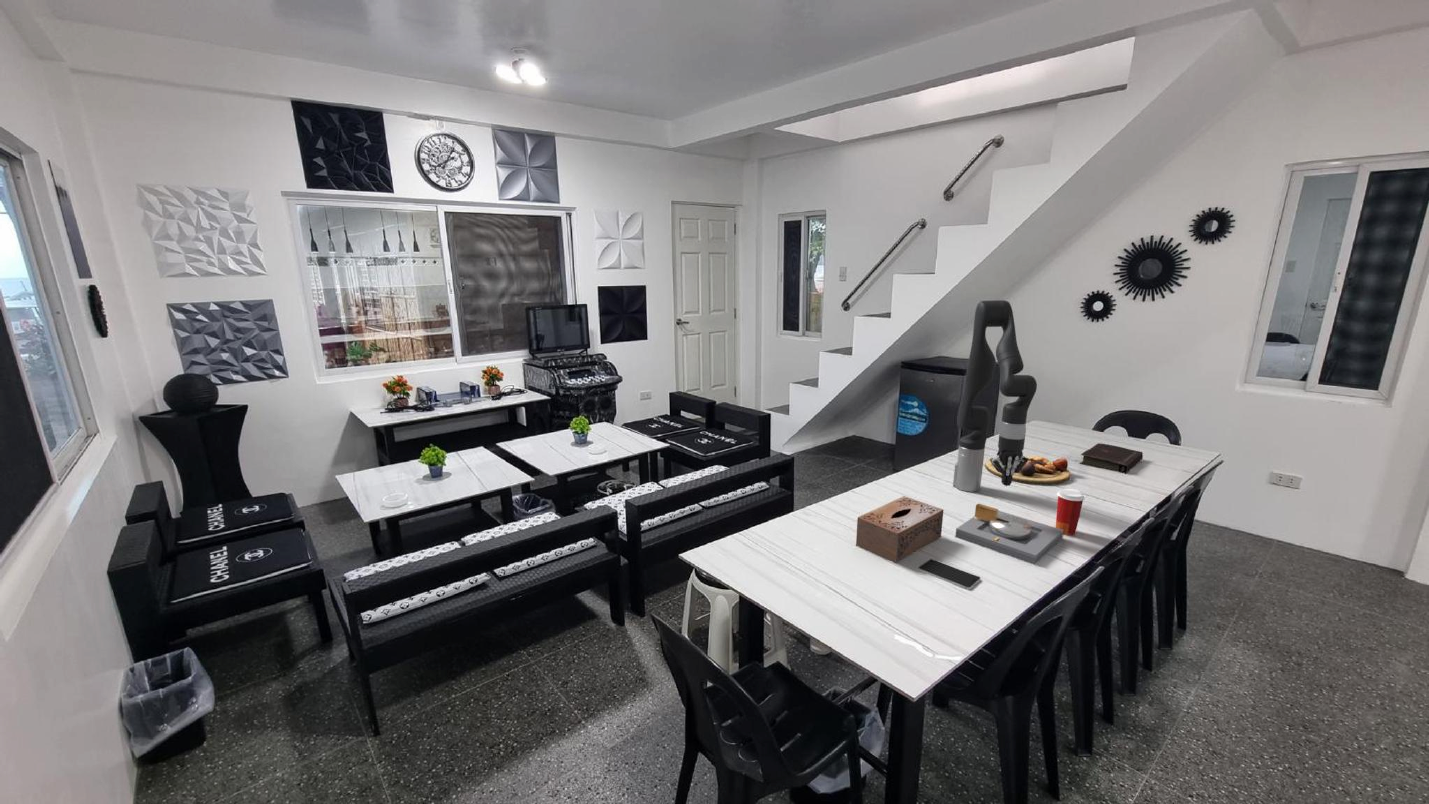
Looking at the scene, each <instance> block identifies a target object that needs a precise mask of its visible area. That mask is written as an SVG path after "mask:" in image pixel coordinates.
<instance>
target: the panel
mask: <svg viewBox="0 0 1429 804" xmlns="http://www.w3.org/2000/svg"><path fill="white" fill-rule="evenodd" d="M998 515H1008V516H1014V517H1018V518H1021V519H1023V520H1025V521H1027V522H1028V523H1030V524H1031V526H1032V527H1031V535H1030V538H1028V539H1026V540H1010V539H1005V538H1002V537H999V536H997V535H995V534H993V533H992V532H991V531H990V530H989V523H990V522H989V521H985V520H982V519H979V518H976V517H975V515H974V516H973V517H972V518H970V519H968V520H967V521H965V522H963V524H961V525H959V526H958V527H956V529H955V538H958V539H960V540H963V541H965V542H968V543H972V544H974V545H977V546H980V547H983V548H986V549H989V550H991V551H994V552H997V553H999V554H1003V555H1006V556H1009V557H1011V558H1015V559H1018V560H1020V561H1023V562H1026V563H1029V564H1031V565H1036V564H1037V563H1038V562H1039V561H1040V560H1042V558H1044V556H1045V555H1046V554H1047V553H1049V552H1050V551H1051V550H1052V549H1053V548H1054V547H1056V546H1057V544H1058V543H1059V542H1061V540H1062V539H1063V537H1064V535H1063V530H1062V529H1058V528H1056V526H1052V525H1048V524H1045V523H1042V522H1038V521H1034V520H1032V519H1027V518H1024V517H1021V516H1018V515H1015V514H1013V513H1008V512H1005V511H1001V510H998Z"/></svg>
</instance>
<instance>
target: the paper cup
mask: <svg viewBox="0 0 1429 804" xmlns="http://www.w3.org/2000/svg"><path fill="white" fill-rule="evenodd" d="M1056 496H1057V505H1056V519H1055V528H1058V529H1062V530H1063V536H1071V537H1072V536H1074V535H1076V533H1077V532H1076V531H1077V528H1078V524H1079V520H1080V516H1081V511H1082V507H1083V503H1084V501H1085V498H1086V497H1085V496H1084V494H1083V492H1082V491H1080V490H1076V489H1072V488H1061V489H1059V490H1058V492H1057V493H1056Z"/></svg>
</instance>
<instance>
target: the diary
mask: <svg viewBox="0 0 1429 804" xmlns="http://www.w3.org/2000/svg"><path fill="white" fill-rule="evenodd" d="M1080 456H1083V457H1082V461H1081V462H1079V463H1078V464H1079V465H1082V466H1088V467H1093V468H1096V469H1104V470H1108V469H1109V471H1113V472H1117V471H1118V472H1119V473H1123V472H1124V471H1125V470H1126V471H1125V473H1124V474H1125V475H1127V474H1128V472H1130V469H1131V470H1132V469H1133V468H1135V467H1136V466H1137V465H1138V464H1139V463H1140V462H1141V461H1142V460H1143V457H1144V454H1143V451H1139V450H1133V449H1129V448H1126V447H1121V446H1118V445H1112V444H1107V443H1101V442H1100V443H1099V442H1098V443H1096V444H1095V445H1093V446H1092V447H1090V448H1089V449H1087V450H1085V451H1084V452H1082V453H1081V454H1080ZM1140 460H1141V461H1140ZM1139 461H1140V462H1139ZM1138 462H1139V463H1138Z"/></svg>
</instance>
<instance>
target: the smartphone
mask: <svg viewBox="0 0 1429 804" xmlns="http://www.w3.org/2000/svg"><path fill="white" fill-rule="evenodd" d="M917 570H918V571H920V572H922V573H925V574H927V575H930V576H932V577H935V578H938V579H939V580H941V581H942V580H943V581H944V582H946V583H949V584H951V585H954V586H957V587H959V588H961V589H965V590H967V591H970V590H971V589H972V588H973V587H975V585H977V584H978V583H979V582H980V581H981V577H980V576H979V575H976V574H973V573H970V572H967V571H965V570H963V569H959V568H956V567H954V566H951V565H949V564H946V563H943V562H941V561H938V560H935V559H931V558H929V559H928V560H927V561H925V562H924V563H923V564H921V565H919V566H918V568H917Z"/></svg>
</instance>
